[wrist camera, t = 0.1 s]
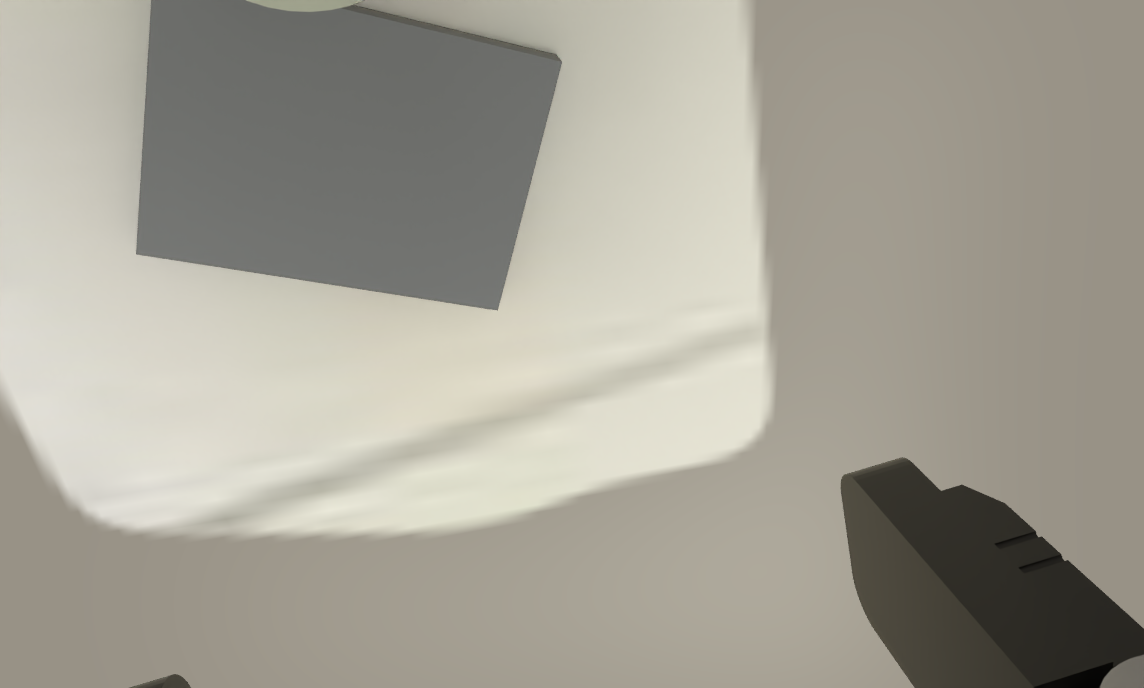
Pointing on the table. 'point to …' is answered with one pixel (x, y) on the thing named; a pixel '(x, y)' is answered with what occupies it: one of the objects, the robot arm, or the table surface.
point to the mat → (339, 147)
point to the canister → (305, 4)
